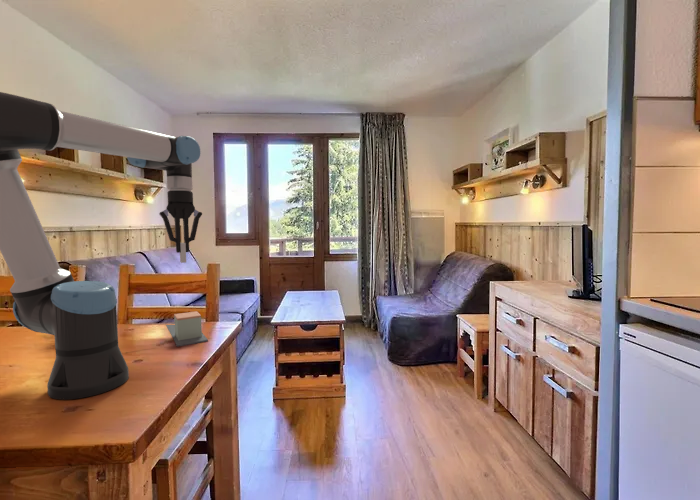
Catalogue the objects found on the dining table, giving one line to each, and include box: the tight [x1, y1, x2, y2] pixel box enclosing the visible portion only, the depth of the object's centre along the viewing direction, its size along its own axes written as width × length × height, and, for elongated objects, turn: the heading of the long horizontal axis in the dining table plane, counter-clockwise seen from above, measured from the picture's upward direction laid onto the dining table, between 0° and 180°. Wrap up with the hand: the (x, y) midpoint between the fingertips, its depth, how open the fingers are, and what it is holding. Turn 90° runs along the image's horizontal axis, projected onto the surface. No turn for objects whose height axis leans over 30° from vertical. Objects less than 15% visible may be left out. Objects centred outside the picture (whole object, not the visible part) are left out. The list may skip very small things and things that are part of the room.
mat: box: [165, 322, 209, 348], centre depth 124 cm, size 28×9×1 cm, turn 33°
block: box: [173, 311, 203, 341], centre depth 119 cm, size 7×7×7 cm
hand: (183, 262), depth 121 cm, fingers closed
